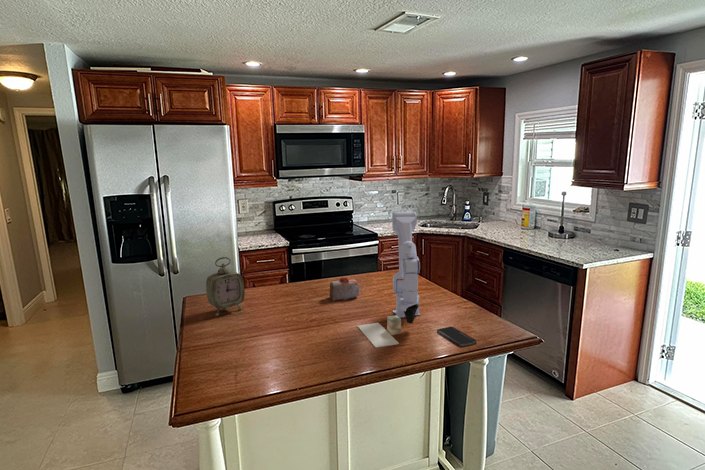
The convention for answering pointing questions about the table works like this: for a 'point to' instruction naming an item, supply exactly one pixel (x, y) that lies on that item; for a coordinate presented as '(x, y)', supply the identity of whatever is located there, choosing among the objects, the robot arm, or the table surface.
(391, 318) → the tan and green sponge
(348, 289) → the grey carrying case
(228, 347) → the table surface
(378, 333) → the mat
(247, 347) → the table surface
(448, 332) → the phone
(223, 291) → the tabletop clock
